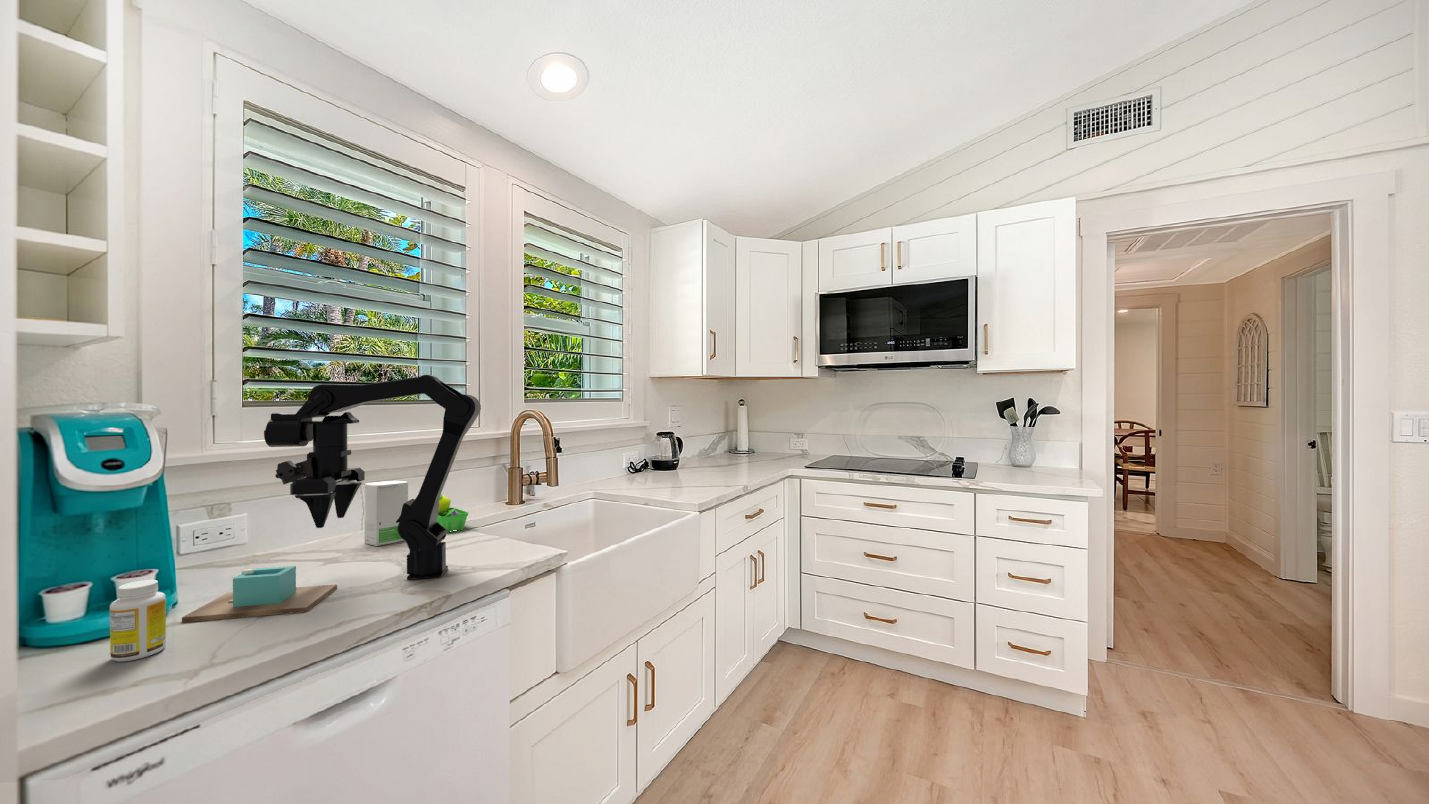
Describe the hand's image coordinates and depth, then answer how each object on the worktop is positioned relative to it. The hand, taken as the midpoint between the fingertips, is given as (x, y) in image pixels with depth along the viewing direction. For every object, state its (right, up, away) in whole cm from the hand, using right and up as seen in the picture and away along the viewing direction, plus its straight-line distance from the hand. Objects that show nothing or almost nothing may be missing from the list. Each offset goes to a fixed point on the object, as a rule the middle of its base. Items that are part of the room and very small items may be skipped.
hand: (330, 522), depth 109 cm
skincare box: (-8, -12, +31) cm, 34 cm away
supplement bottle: (-6, -12, -31) cm, 34 cm away
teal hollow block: (-3, -11, -12) cm, 17 cm away
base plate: (-3, -12, -12) cm, 17 cm away
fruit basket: (+1, -12, +44) cm, 46 cm away
